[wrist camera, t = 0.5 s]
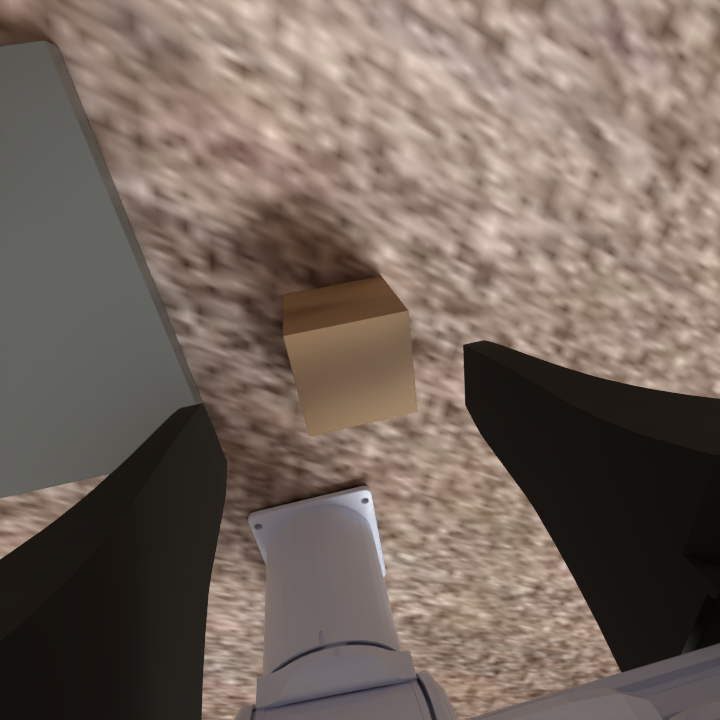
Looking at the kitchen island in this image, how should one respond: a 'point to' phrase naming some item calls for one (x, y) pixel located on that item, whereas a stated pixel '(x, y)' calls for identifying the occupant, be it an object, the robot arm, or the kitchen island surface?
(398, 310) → the cube
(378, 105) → the kitchen island surface
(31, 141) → the board
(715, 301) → the kitchen island surface
